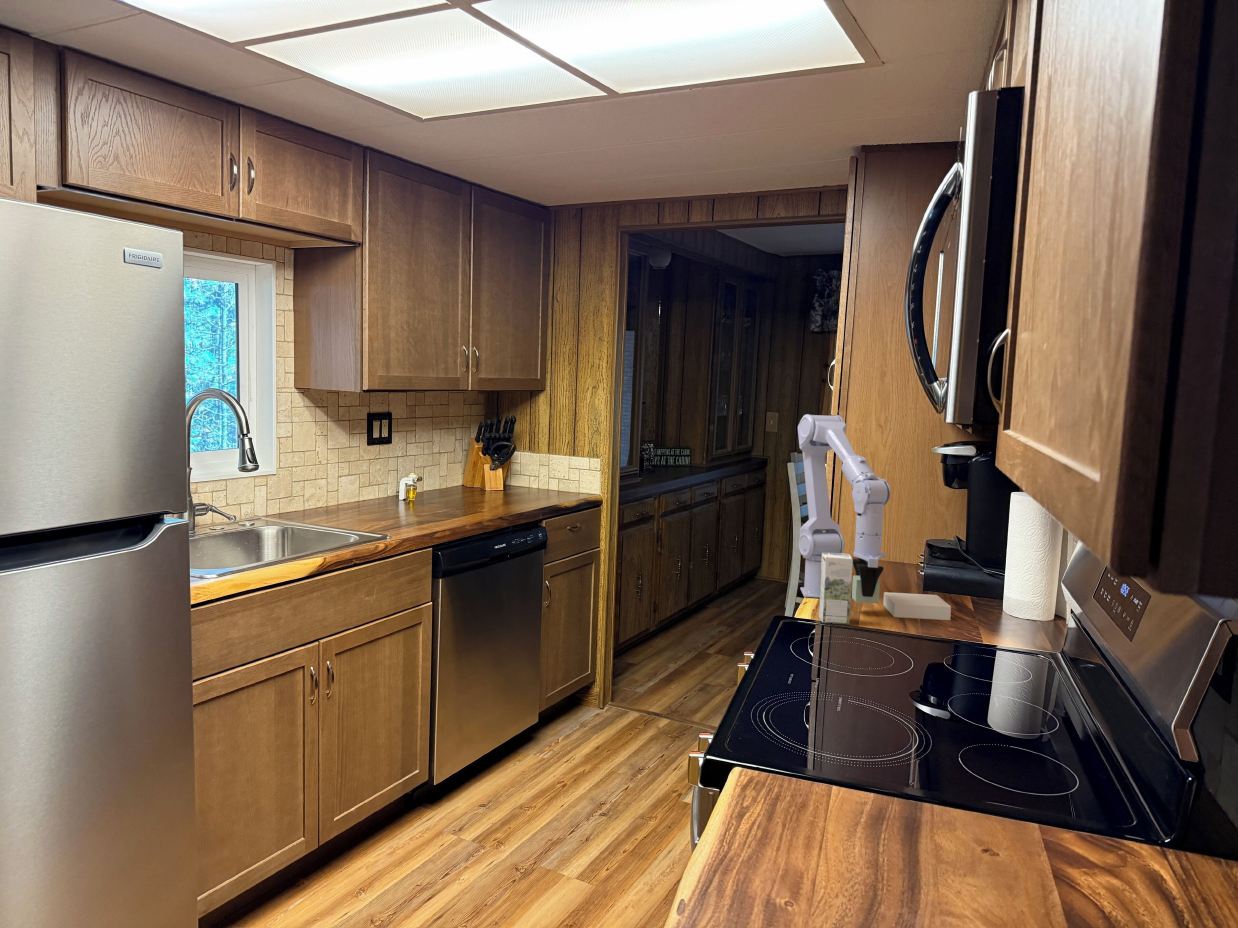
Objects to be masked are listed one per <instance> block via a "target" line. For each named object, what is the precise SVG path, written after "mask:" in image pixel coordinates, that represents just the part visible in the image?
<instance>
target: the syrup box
mask: <svg viewBox="0 0 1238 928" xmlns="http://www.w3.org/2000/svg"><path fill="white" fill-rule="evenodd" d="M853 559H854V558H853V557H852V556H851V555H850V554H849V553H842V554H841V553H822V562H821V582H820V598H819V605H818V617H819V620H820V621H821V622H822V624H831V623H832V624H833V625H834V624H835V625H850V616H851V615H850V614H851V600H852V599H851V598H852V584H853V567H854V566H853ZM832 624H831V625H832Z"/></svg>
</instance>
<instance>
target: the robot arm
mask: <svg viewBox="0 0 1238 928" xmlns="http://www.w3.org/2000/svg"><path fill="white" fill-rule="evenodd" d="M846 432H847V424H846V422H845V421H844V419H843V417H842V416H840V415H838V414H836V415H822V414H821V415H820V414H819V415H817V414H816V415H815V414H807V413H806V414H804V415H803V416H802V418H801V419H800V420H799V423H798V425H797V434H798V436H797V437H798V446H799V449H800V451H802V460H803V470H804V471H803V472H804V482H805V492H806V493H805V494H806V503H807V514H808V520H807V521H806V522H805V523H803V525H801V527H800V528H799V538H798V550H799V552H800V554H801V556H802V558H803V559H805V560H804V561H805V562H804V564H805V565H804V581H803V582H804V583H803V584H804V585H803V586H801V587H800V588H799V589H800V591H801V594H802V595H803V597H804V598H819V599H820V582H821V562H822V553H841V554H844V551H845V540H844V537H843V535H842V530H841V525H840V524H838V523H837V522H836V521H835V520H833V519H832V517H831V509H830V508H831V507H830V498H829V488H828V487H829V486H828V478H827V468H826V458H825V457H826V454H827V452H830V451H831V450H832V451H833V452H834V453H835V454H836V456H837V457H838V458H839V459H840V461H841V462H842V463H841V464H842V465H841V471H842V473H843V475H844V476H845V478H846V479H847V481H848V483H849V484H850V486H851V488H852V489H853V490H852V491H851V497H852V501H853V503H854V504H853V505H854V506H853V507H854V508H853V509H854V512H855V513H856V516H855V518H856V519H855V536H854V537H855V538H854V539H855V540H854V550H853V553H852V554H853V556H854V557H855V558H852V559H853V566H852V567H853V568H854V571H855V572H854V573H855V576H860V579H861V589H862V595H863V596H864V597H873V594H874V591H875V587H876V584H877V581H878V580H879V578H880V576H881V574H882V573H883V571H884V569H885V567H884V566H880V565H879V560H881V559H883V558H887V553H886V552H885V553H884V552H882V542H883V526H884V525H883V524H884V511H885V510H884V509H885V508H884V507H885V505H886V504H888V503H889V501H890V497H891V489H890V485H889V483H888V481H887V480H885V479H883V478H881V477H880V476H877V475H876V474H875V473H874V471H873V470H872V468H871V467H870V464H869V463H868V462H867V459H866V458H865V457H864V456H862V455H859V454H856V452H855V450H854V447H853V446H852V444H851V442H850V441H849V438H848V436H847V435H846ZM808 591H809V593H808Z"/></svg>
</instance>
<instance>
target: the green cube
mask: <svg viewBox="0 0 1238 928" xmlns="http://www.w3.org/2000/svg"><path fill="white" fill-rule="evenodd" d="M880 584H881V581H880V580H879V579H878V581H877V584H876V587H875V591H874V594H873V597H864V596H863V595H862V589H861V579H860V576H856V574H855V575H853V574H852V585H851V598H852V599H853V601H854V603H864V604H865V603H866V604H867V603H868V604H879V603H880V586H881V585H880Z"/></svg>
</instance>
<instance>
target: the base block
mask: <svg viewBox="0 0 1238 928" xmlns="http://www.w3.org/2000/svg"><path fill="white" fill-rule="evenodd" d="M882 602H883V603H882V605H883V606H884V607H885V609H886V610H887V611H888V612H889V613H890V614H891V616H892V617H893V618H902V619H903V618H905V619H920V620H921V619H922V620H937V621H939V620H941V621H951V615H952V614H951V613H952V612H951V611H952V606H951V605H949V604H948V603H947V602H946V601H945V600H944V599H942V598H941V597H940V596H939V595H937V594H926V593H925V594H922V593H905V592H886V591H884V592H883V601H882Z"/></svg>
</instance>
